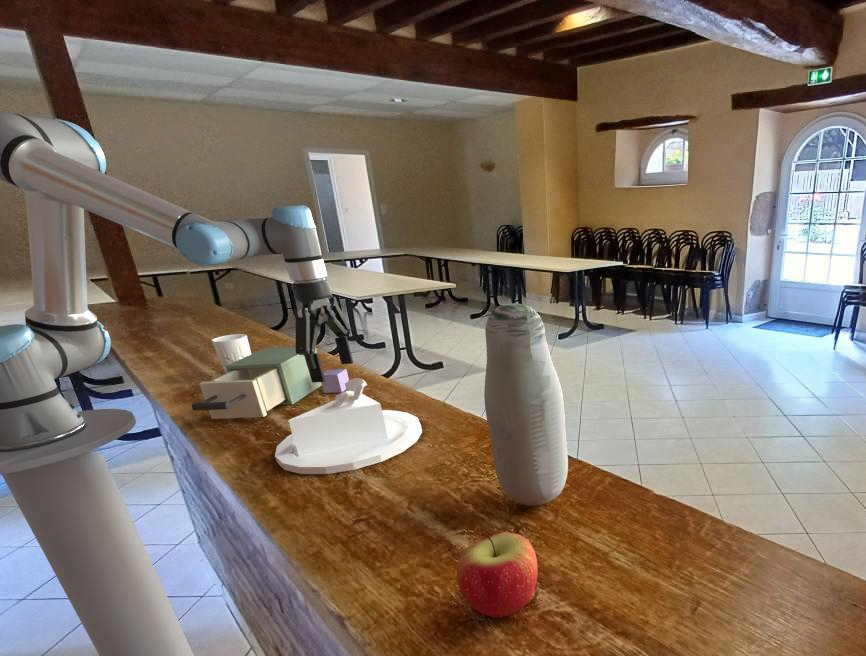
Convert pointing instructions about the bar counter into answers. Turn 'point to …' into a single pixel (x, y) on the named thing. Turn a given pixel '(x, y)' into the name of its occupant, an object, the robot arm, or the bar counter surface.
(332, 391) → the purple cube
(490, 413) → the grey rounded column
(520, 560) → the apple
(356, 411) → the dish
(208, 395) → the drawer
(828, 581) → the bar counter surface
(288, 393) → the cabinet
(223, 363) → the white cup
